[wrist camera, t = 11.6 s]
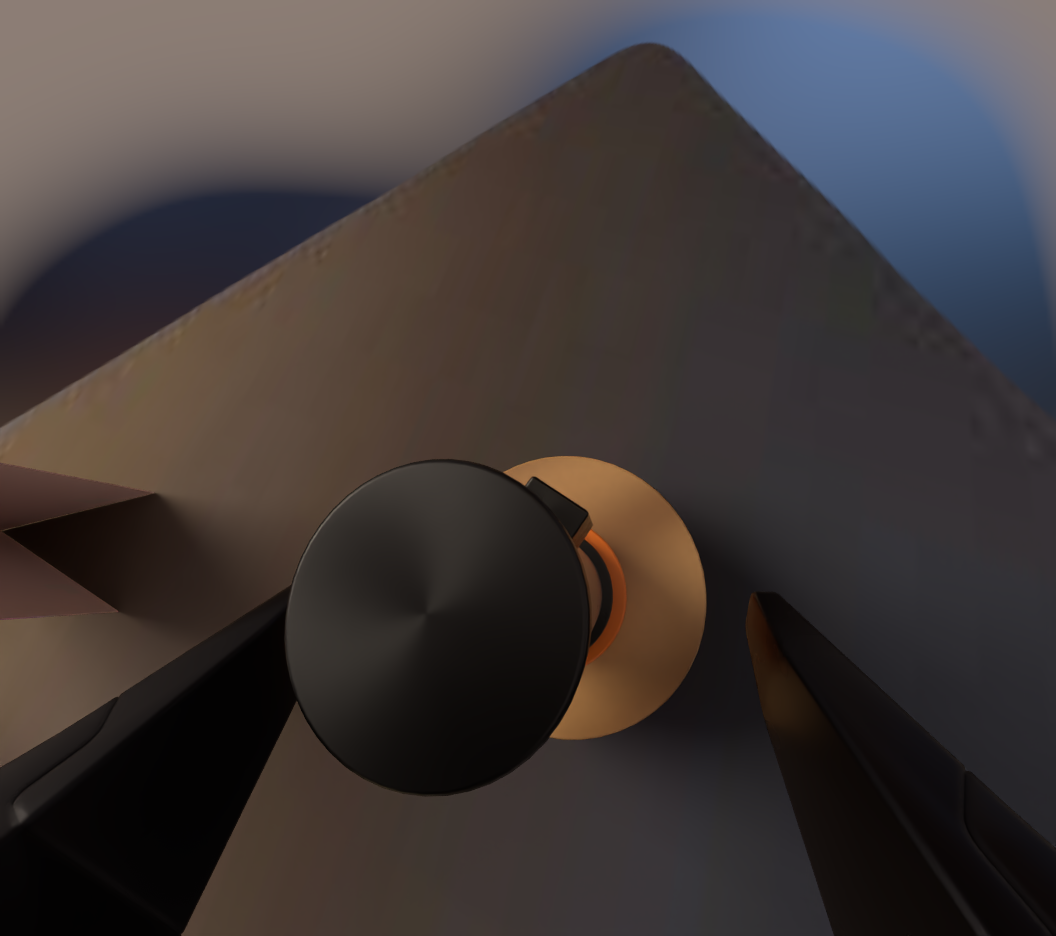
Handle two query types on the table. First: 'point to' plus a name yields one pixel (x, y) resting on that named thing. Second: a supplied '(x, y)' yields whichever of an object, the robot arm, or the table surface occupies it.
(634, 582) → the birch box
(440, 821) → the table surface
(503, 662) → the torch
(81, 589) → the greeting card
